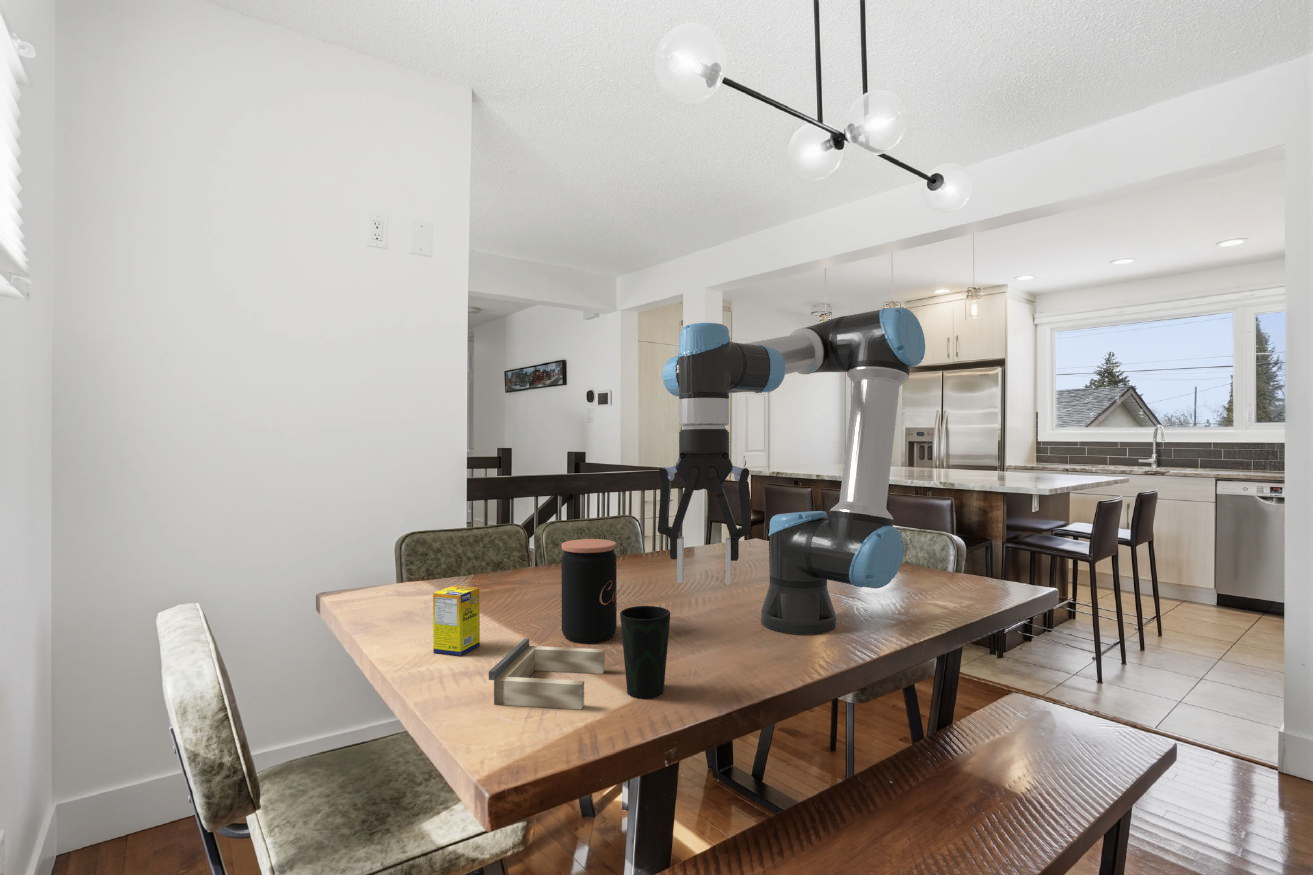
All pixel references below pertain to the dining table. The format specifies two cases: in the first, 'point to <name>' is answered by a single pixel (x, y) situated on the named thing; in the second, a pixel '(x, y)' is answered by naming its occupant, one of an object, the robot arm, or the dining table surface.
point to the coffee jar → (589, 590)
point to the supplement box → (456, 620)
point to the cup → (645, 649)
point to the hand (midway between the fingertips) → (704, 581)
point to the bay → (544, 692)
